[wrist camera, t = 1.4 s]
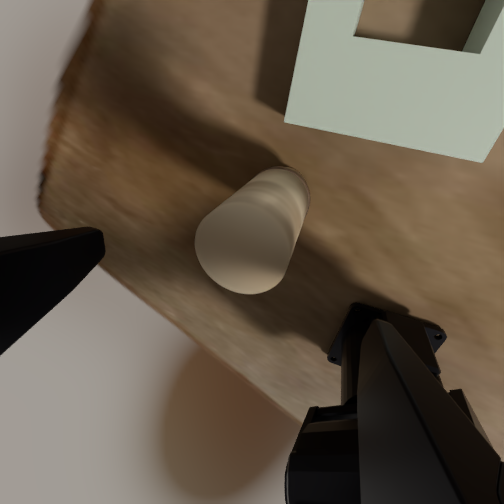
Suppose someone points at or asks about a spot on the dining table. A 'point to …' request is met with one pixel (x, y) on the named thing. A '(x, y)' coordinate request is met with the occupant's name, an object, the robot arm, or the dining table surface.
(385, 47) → the board
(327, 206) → the dining table surface
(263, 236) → the peg
